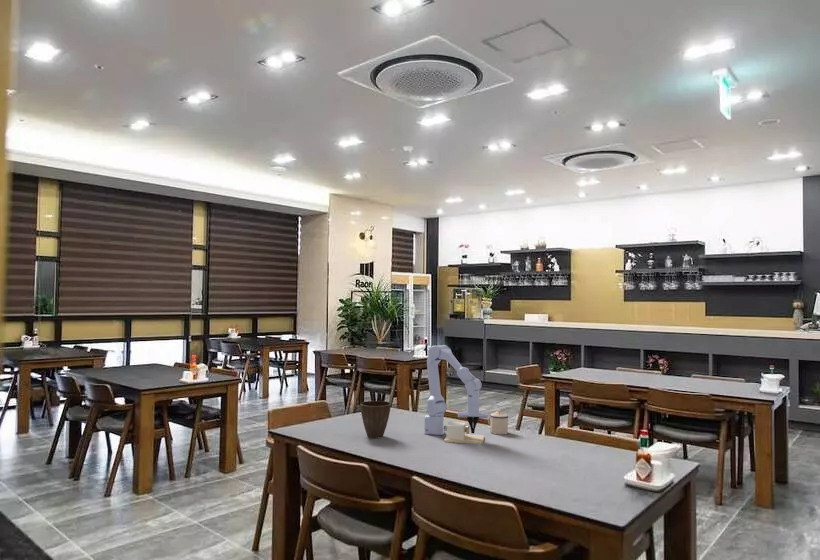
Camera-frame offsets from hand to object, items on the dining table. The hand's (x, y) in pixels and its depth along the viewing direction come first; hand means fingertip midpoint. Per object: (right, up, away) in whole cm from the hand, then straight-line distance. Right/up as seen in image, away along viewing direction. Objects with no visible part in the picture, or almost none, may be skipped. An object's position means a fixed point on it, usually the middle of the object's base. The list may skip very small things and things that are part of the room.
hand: (472, 432), depth 274 cm
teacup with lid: (+14, -5, +18) cm, 23 cm away
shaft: (-8, 0, +1) cm, 8 cm away
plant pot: (-47, -3, +3) cm, 47 cm away
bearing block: (-4, -3, +1) cm, 5 cm away
